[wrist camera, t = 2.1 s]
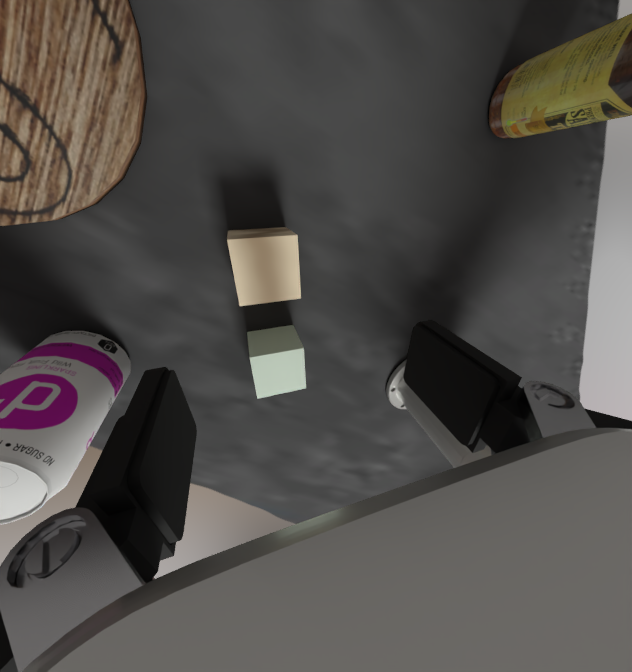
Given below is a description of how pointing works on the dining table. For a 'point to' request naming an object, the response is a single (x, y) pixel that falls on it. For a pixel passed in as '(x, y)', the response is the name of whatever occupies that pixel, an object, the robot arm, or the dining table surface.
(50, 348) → the supplement can
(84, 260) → the dining table surface
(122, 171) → the trivet
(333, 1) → the dining table surface
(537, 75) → the sauce bottle
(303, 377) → the sage cube
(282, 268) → the beech cube
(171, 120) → the dining table surface
